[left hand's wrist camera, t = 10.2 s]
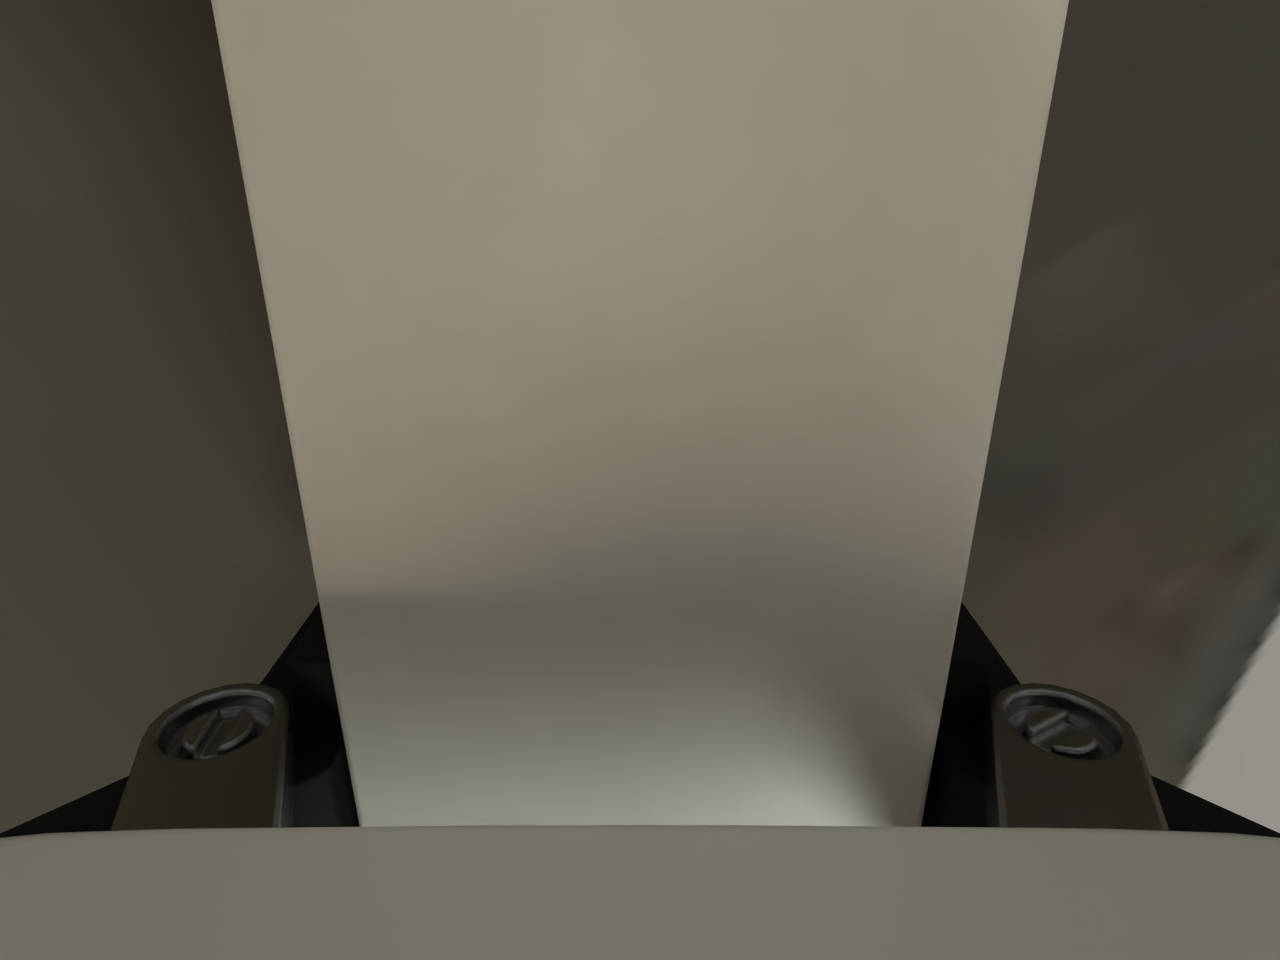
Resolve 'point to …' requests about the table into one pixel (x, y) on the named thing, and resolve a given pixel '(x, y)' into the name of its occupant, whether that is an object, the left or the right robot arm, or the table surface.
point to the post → (640, 384)
